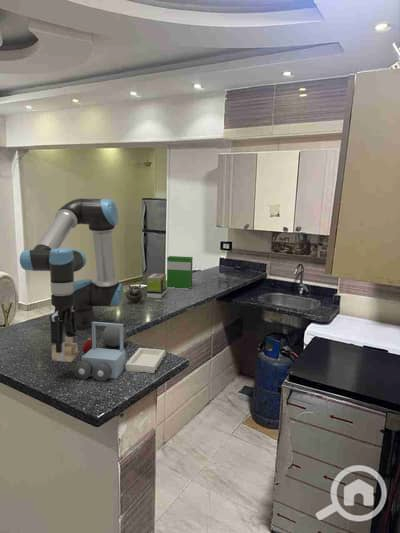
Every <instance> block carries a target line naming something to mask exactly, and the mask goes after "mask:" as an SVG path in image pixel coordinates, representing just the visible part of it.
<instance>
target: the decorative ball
mask: <svg viewBox="0 0 400 533" xmlns="http://www.w3.org/2000/svg"><path fill="white" fill-rule="evenodd" d="M126 336H127V332H126V329H125V327H123V343H124V342H125V340H126V338H127V337H126ZM102 341H103V342H104V343H105V344H106V345H107V347H108V346H109V347H111V348H112V347H113V348H117V347H120V327H109V326H105V328H104V330H103V331H102Z"/></svg>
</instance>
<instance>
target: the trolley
mask: <svg viewBox="0 0 400 533" xmlns="http://www.w3.org/2000/svg"><path fill="white" fill-rule="evenodd" d="M95 325H96V326H98V327H99V326H100V327H107V326H109V327H120V345H119V349H111V348H99V347H98V348H96V344H97V341H96V340H97V339H96V338H97V337H96V336H97V335H96V333H97V332H96V331H97V330H96V326H95ZM123 328H124V323H115V322H99V321H97V322H92V328H91V340H92V349H91V350H89V351H88V352H87V353H86V354H83V355H82V356H81V361H79V362H78V363H77V364H76V365H75V366H74V367H73V373H74V375H75V377H76V378H77V379H80V380H87V379H88V378H89V377H93V378H94V379H95V380H96V381H98V382H105V381H107V380H108V379H112V378H114V380H117V379H116V378H119V376H120V375H121V374H122V373H123V372H124V370H126V366H125V364H126V350H125V349H124V342H123Z"/></svg>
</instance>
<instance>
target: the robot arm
mask: <svg viewBox="0 0 400 533" xmlns="http://www.w3.org/2000/svg"><path fill="white" fill-rule="evenodd" d="M118 222H119V213H118V209H117V205H116V203H115V202H114V200H112V199H109V198H108V199H107V198H83V197H82V198H76V199H73V200H71V201H69V202H67V203H65V204H64V205H62V206H61V207H60V208H59V209H58V210H57V212H56V213H55V216H54V220H53V221H52V223H51V224H50V225H49V227H48V228H47V230H46V231H45V232H44V234H43V235H42V237H41V238H40V239H39V241H38V242H37V244H36V245H35V246H34V248H33V249H26V250H23V251H22V252H21V253H20V256H19V264H20V267H21V269H23V270H25V271H33V272H35V271H36V272H50V273H49V274H50V293H51V295H50V301H51V306H53V307H54V314H53V315H52V314H51V315H49V322H50V342H51V344H53V345H55V344H56V361H57V362H66V361H65V350H64V343H63V342H70V343H74V341H73V340H74V338H73V337H76V335H77V334H76V333H77V331H81V330H84V331H85V330H90V329H92V322H98V319H97V317H96V314H95V312H94V307H108V308H111V307H112V308H113V307H119V305H120V304H121V301H122V298H123V293H124V291H123V290H124V285H123V284H122V283H121V282H119V278H117V276H116V272H115V270H116V269H115V259H114V258H115V257H114V255H115V254H114V245H113V230H115V229H116V226H117V225H118ZM77 225H88V230H89V231H91V232H92V237H93V238H92V239H93V240H92V241H93V249H94V258H95V259H94V260H95V268H96V279H95V280H94V282H93V280H92V279H89V278H87V279H78V280H75V277H74V276H75V272H78V271H81V269H82V268H83V267H85V266H86V263H87V257H86V255H85V253H84V252H82V251H81V250H76V249H75V250H74V249H71V248H67V247H61V245H62V244H63V242H64V241H65V239H66V238H67V236H68V235H69V233H70V231H71V230H72V229H74V228H76V227H77ZM95 326H97V325H95ZM64 331H65V336H64Z"/></svg>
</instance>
